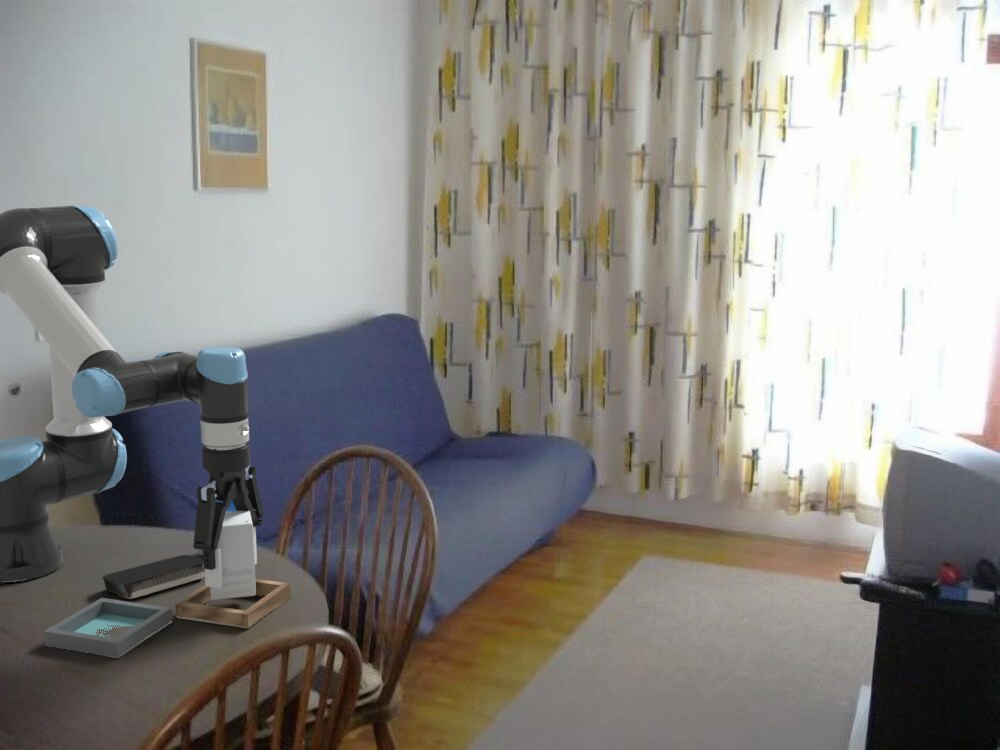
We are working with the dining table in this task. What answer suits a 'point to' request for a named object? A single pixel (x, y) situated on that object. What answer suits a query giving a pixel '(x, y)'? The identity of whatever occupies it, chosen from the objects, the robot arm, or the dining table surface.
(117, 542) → the dining table surface
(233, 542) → the supplement box
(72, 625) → the grey teal square tray
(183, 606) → the wooden picture frame
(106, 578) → the black scrub brush
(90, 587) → the dining table surface
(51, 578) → the dining table surface
